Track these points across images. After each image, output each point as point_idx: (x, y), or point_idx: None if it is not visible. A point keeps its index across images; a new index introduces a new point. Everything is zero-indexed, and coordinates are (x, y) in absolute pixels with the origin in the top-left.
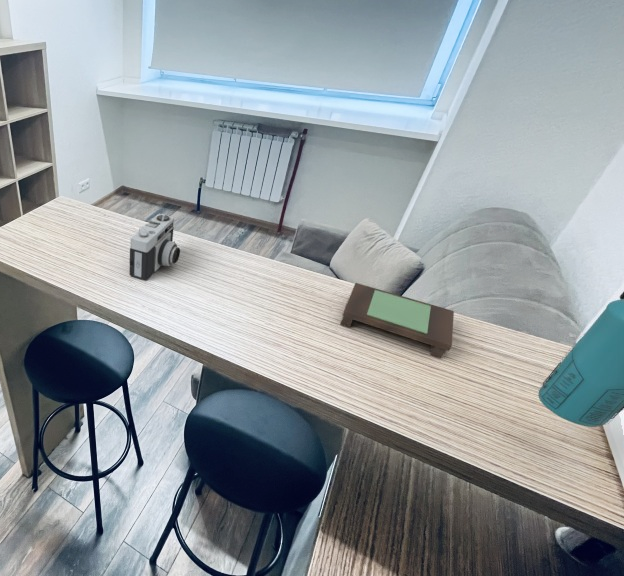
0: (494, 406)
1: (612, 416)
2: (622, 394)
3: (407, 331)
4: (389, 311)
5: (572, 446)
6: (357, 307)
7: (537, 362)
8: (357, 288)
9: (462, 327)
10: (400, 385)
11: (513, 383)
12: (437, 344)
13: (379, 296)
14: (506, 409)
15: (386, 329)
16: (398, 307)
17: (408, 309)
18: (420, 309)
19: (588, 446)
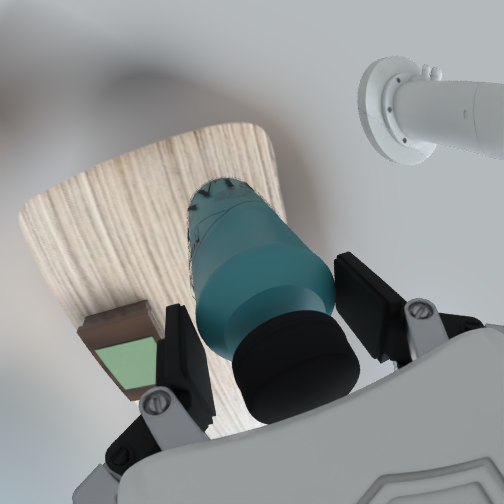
0: (180, 236)
1: (242, 183)
2: (274, 209)
3: None
4: (150, 370)
5: (180, 163)
6: None
7: (55, 229)
8: (139, 397)
9: (67, 303)
10: None
11: (118, 235)
12: (153, 320)
13: (132, 383)
14: (174, 226)
15: None
16: (133, 368)
17: (125, 361)
18: (113, 355)
19: (166, 152)
